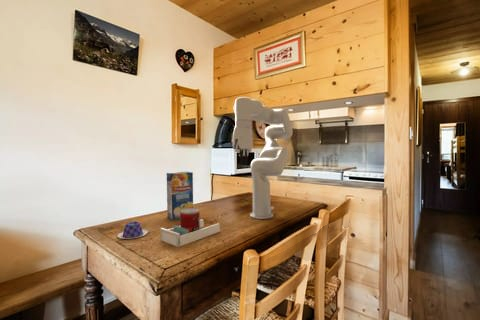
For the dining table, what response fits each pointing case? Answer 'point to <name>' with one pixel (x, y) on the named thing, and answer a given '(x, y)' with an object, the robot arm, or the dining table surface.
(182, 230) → the pusher
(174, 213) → the blue food box
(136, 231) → the blue checkered hat
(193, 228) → the canned food
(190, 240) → the white shallow tray
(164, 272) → the dining table surface
